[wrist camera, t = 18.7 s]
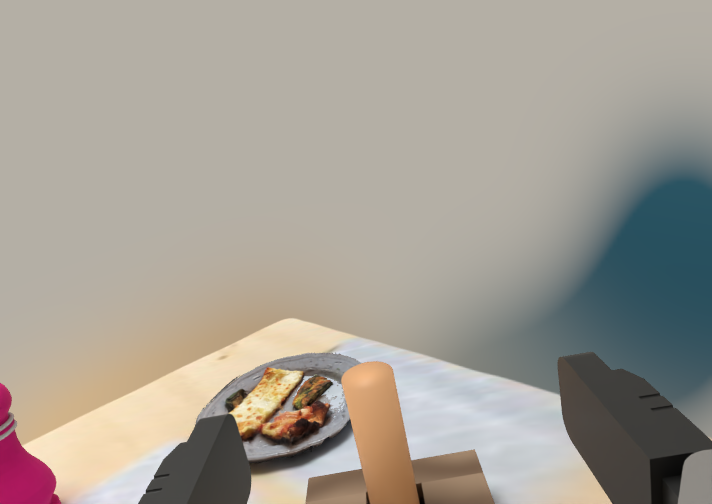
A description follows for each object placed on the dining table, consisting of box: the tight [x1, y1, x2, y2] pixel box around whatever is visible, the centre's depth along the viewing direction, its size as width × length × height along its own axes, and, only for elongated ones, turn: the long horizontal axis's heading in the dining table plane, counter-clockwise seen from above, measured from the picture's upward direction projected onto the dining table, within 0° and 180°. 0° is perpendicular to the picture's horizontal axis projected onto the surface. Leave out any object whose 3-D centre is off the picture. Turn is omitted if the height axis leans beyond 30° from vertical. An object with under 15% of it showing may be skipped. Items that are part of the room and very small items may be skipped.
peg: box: [341, 362, 420, 504], centre depth 38 cm, size 8×8×18 cm
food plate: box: [195, 353, 361, 463], centre depth 66 cm, size 25×23×4 cm
